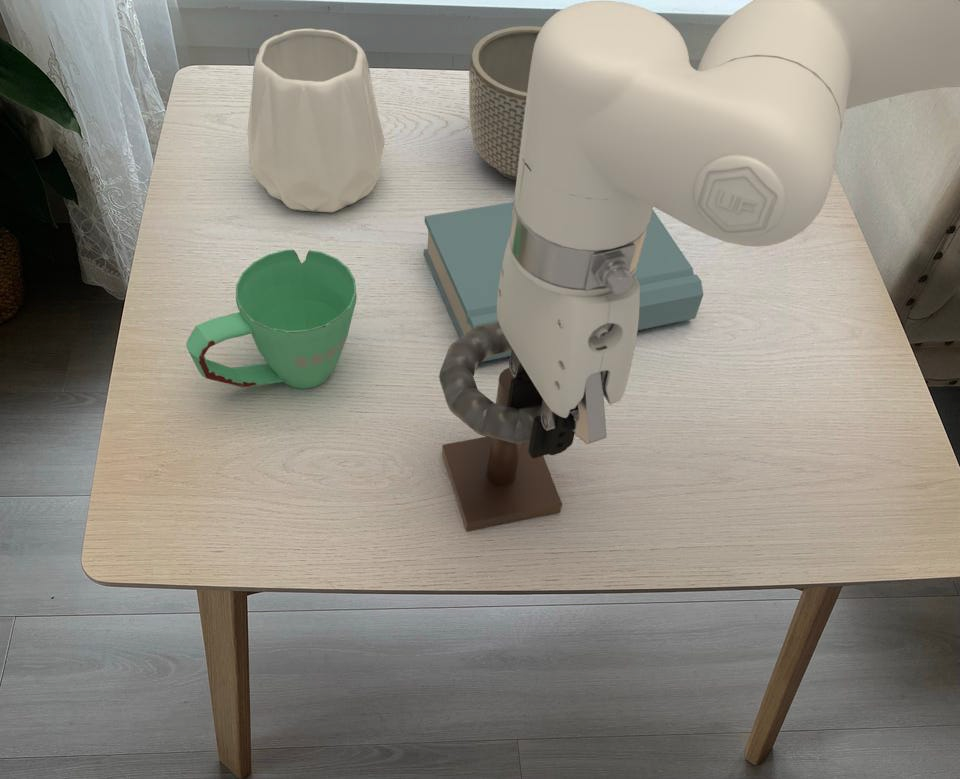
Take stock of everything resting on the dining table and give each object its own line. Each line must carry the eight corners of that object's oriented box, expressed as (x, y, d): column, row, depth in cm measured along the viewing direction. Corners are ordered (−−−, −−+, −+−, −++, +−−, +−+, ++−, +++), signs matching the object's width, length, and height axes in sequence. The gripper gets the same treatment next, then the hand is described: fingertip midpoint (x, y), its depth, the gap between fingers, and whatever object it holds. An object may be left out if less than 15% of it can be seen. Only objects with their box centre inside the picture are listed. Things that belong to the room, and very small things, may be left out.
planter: (606, 189, 105) (628, 86, 95) (491, 214, 101) (502, 109, 91) (553, 119, 113) (568, 17, 103) (444, 139, 109) (449, 35, 99)
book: (625, 220, 102) (634, 182, 98) (693, 324, 93) (705, 287, 89) (423, 254, 96) (424, 216, 93) (472, 369, 87) (476, 332, 83)
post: (531, 436, 82) (550, 331, 72) (560, 512, 78) (585, 411, 67) (441, 452, 81) (448, 347, 70) (466, 531, 76) (477, 431, 66)
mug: (325, 314, 90) (319, 234, 82) (380, 381, 85) (378, 302, 78) (179, 376, 84) (158, 296, 76) (229, 452, 79) (211, 374, 71)
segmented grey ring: (559, 327, 74) (564, 305, 72) (607, 434, 68) (613, 413, 66) (425, 347, 72) (426, 325, 70) (461, 461, 65) (463, 440, 63)
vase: (378, 229, 98) (377, 101, 87) (241, 219, 98) (221, 90, 86) (390, 147, 107) (390, 22, 96) (264, 138, 107) (249, 11, 95)
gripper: (711, 313, 50) (640, 505, 64) (570, 137, 59) (535, 338, 73) (585, 349, 48) (541, 540, 62) (459, 160, 57) (445, 363, 71)
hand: (538, 429), depth 67 cm, fingers closed on segmented grey ring, 2 cm apart
